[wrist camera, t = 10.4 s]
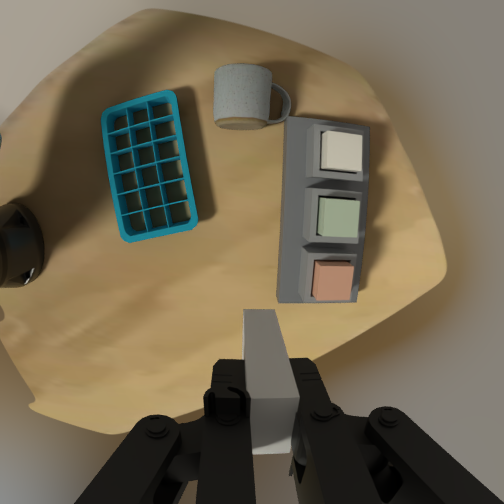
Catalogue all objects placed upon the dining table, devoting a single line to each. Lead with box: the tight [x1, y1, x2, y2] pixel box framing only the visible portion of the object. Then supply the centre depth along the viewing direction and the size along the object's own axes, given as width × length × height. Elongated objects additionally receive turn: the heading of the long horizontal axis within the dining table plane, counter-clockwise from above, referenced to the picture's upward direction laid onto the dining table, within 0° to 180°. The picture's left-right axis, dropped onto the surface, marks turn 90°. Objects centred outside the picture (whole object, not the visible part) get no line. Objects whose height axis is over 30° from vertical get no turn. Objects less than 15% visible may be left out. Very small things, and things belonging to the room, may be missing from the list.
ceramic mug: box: [213, 63, 291, 130], centre depth 35 cm, size 11×8×8 cm
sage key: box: [316, 197, 360, 238], centre depth 36 cm, size 4×4×4 cm
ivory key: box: [319, 131, 362, 172], centre depth 34 cm, size 4×4×4 cm
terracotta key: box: [311, 259, 354, 301], centre depth 38 cm, size 4×4×4 cm
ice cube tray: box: [101, 90, 198, 243], centre depth 39 cm, size 12×20×3 cm, turn 10°
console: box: [276, 116, 370, 303], centre depth 39 cm, size 12×26×7 cm, turn 178°
